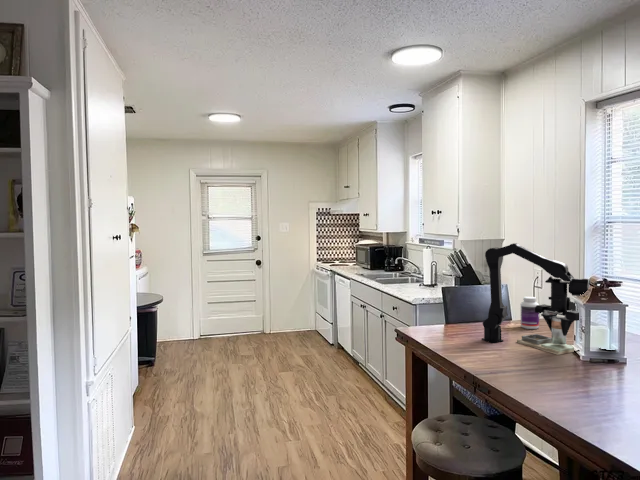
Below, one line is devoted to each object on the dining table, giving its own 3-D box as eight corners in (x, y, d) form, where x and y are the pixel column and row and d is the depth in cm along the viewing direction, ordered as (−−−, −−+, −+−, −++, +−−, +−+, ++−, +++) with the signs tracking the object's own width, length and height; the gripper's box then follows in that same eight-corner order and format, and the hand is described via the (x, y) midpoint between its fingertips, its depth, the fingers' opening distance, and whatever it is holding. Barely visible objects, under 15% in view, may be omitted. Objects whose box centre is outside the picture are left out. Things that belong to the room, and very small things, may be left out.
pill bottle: (542, 329, 215) (542, 298, 215) (524, 329, 215) (524, 299, 215) (534, 325, 223) (534, 295, 223) (517, 325, 224) (517, 296, 223)
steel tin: (559, 345, 179) (559, 319, 179) (548, 342, 184) (548, 317, 184) (569, 343, 181) (569, 318, 181) (557, 340, 186) (558, 315, 186)
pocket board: (557, 354, 176) (557, 348, 176) (516, 342, 195) (516, 336, 195) (580, 350, 181) (580, 344, 181) (538, 338, 199) (538, 332, 199)
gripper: (595, 296, 176) (595, 337, 177) (553, 289, 193) (553, 326, 194) (574, 298, 172) (574, 340, 173) (533, 291, 189) (533, 329, 190)
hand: (558, 333), depth 182 cm, fingers closed on steel tin, 5 cm apart
